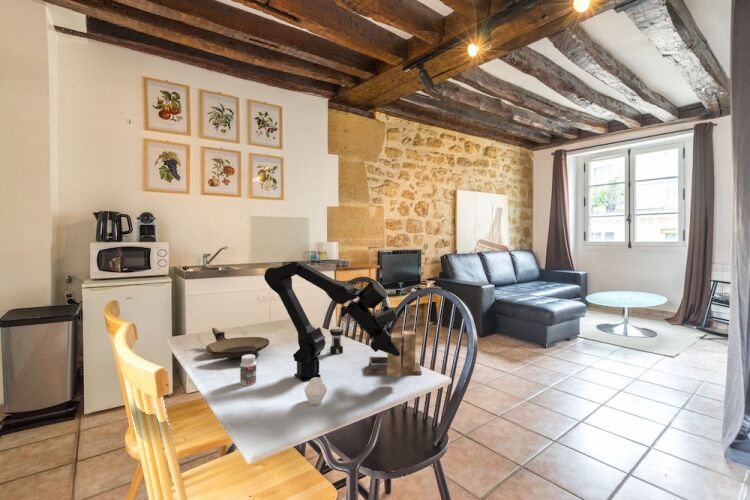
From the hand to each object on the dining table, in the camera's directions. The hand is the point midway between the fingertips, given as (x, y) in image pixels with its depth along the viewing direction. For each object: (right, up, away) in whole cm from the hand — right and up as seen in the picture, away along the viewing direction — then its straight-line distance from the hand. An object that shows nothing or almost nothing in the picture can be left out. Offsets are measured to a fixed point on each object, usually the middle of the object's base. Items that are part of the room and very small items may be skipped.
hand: (398, 352), depth 110 cm
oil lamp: (-61, -8, +28) cm, 68 cm away
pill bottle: (-47, -10, +1) cm, 48 cm away
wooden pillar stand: (-1, -10, +13) cm, 17 cm away
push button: (-23, -9, +30) cm, 39 cm away
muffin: (-24, -11, -11) cm, 29 cm away
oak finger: (-1, -7, 0) cm, 7 cm away
